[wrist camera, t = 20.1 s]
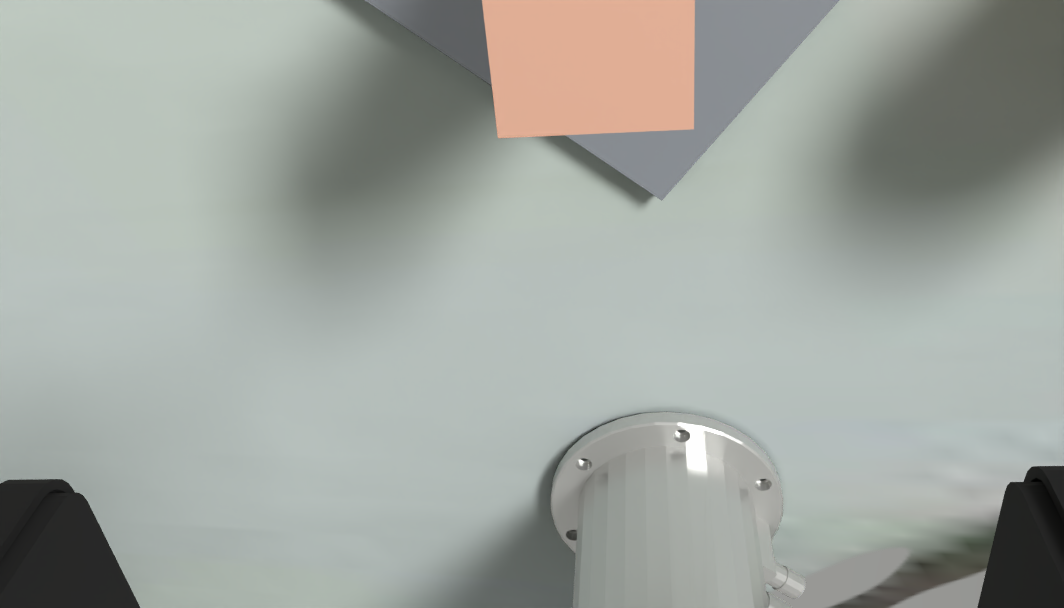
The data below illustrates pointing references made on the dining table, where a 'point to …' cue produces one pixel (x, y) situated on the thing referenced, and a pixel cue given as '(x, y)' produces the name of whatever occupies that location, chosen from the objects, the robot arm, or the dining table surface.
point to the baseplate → (719, 72)
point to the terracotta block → (590, 65)
